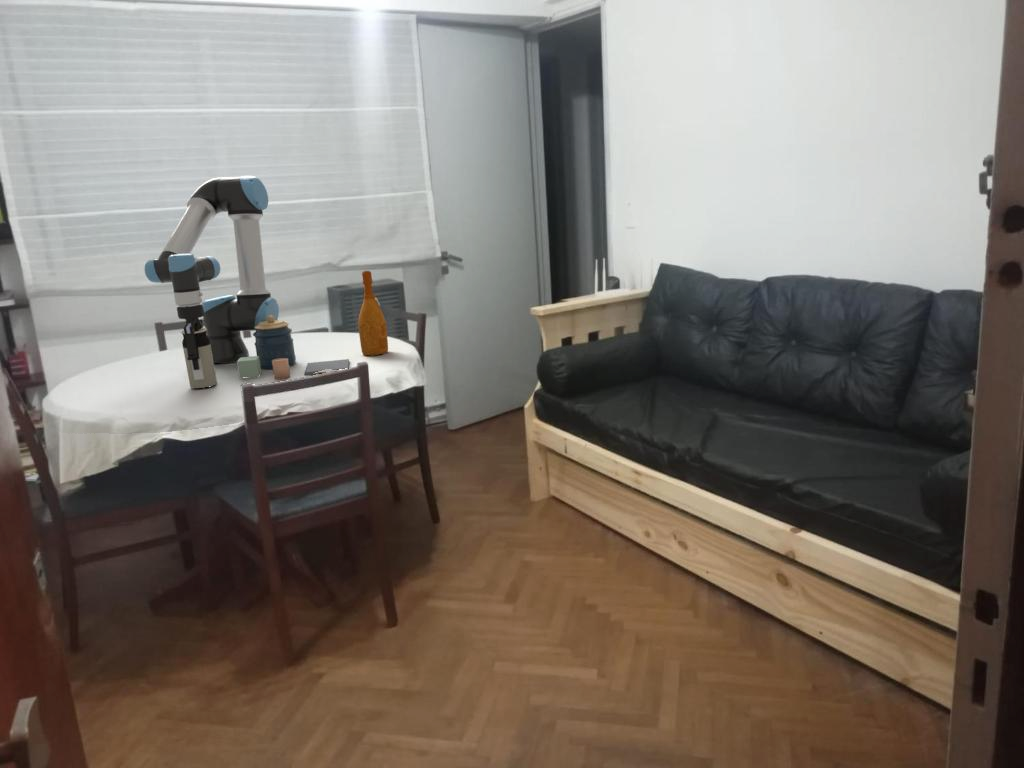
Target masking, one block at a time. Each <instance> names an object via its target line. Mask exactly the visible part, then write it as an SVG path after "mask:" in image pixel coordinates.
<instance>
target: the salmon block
mask: <svg viewBox="0 0 1024 768" xmlns="http://www.w3.org/2000/svg"><path fill="white" fill-rule="evenodd" d="M272 365H273V369H272V371H273V372H272V373H273V377H274V380H276V379H277V380H276V381H280V380H281V381H282V380H287V379H289V378H291V372H290V371H291V369H290V366H289V363H288V358H278V359H274V360H272ZM279 379H280V380H279Z"/></svg>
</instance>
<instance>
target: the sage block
mask: <svg viewBox="0 0 1024 768" xmlns="http://www.w3.org/2000/svg"><path fill="white" fill-rule="evenodd" d="M236 364H237V369H238V377H239V379H240V378H243V377H256V378H259V377H260V376H261V375H260V374H262V368H261V366H260V359H259V356H257V355H253V356H249V357H241V358H239V360H238V361H237V362H236ZM259 375H260V376H259ZM258 376H259V377H258Z"/></svg>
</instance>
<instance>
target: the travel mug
mask: <svg viewBox="0 0 1024 768" xmlns="http://www.w3.org/2000/svg"><path fill="white" fill-rule="evenodd" d="M206 331H207V329H206V328H205V327H203V328H201V329H199V331H195V332H194V335H195V337H196V336H197V335H198V337H197V345H198V350H199V358H200V359H201V364H202V370H203V376H204V379H201V380H194V375H193V370H192V364H191V360H188V359H187V358H188V353H187V346H186V338H185V333H184V330H182V331H180V333H181V334H182V337H183V339H182V342H181V344H182V350H183V355H184V361H185V366H186V370H187V371H186V372H187V376H188V380H189V382H188V383H189V386H190V387H189V388H192V389H194V388H202V389H206V388H205V387H208V388H210V387H209V386H211V387H213V386H212V385H214V386H215V385H217V384H218V380H217V374H216V370H215V364H214V362H213V356H212V350H211V345H210V339H209V337H208V336H207V335H206ZM193 355H194V354H193Z"/></svg>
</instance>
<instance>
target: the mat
mask: <svg viewBox="0 0 1024 768" xmlns="http://www.w3.org/2000/svg"><path fill="white" fill-rule="evenodd" d="M349 366H350V358H346V359H336V360H327V361H326V360H325V361H314V362H308V363H306V367H305V369H304V372H303V373H304V376H311V375H310V374H313V373H315V372H318V371H322V370H325V369H332V370H339V369H345V368H348V369H349Z"/></svg>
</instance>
